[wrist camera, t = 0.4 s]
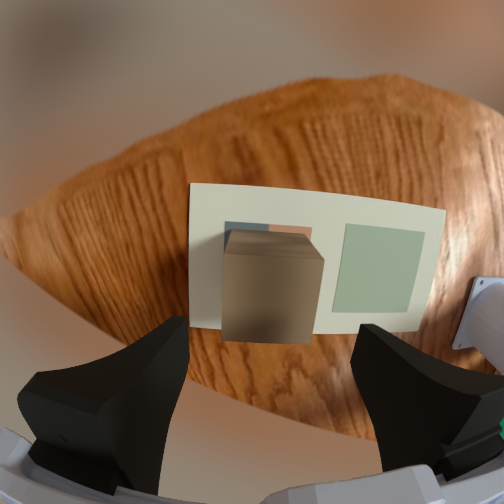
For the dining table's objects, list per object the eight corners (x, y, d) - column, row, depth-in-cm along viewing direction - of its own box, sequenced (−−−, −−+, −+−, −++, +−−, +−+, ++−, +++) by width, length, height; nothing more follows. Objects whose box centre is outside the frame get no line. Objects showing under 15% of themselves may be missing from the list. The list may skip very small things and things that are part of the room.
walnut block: (304, 233, 20) (324, 259, 14) (296, 299, 21) (310, 344, 16) (231, 228, 20) (223, 253, 14) (228, 295, 21) (221, 340, 15)
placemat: (445, 210, 20) (446, 210, 19) (416, 330, 23) (418, 331, 22) (191, 182, 19) (190, 183, 19) (190, 325, 22) (189, 326, 22)
